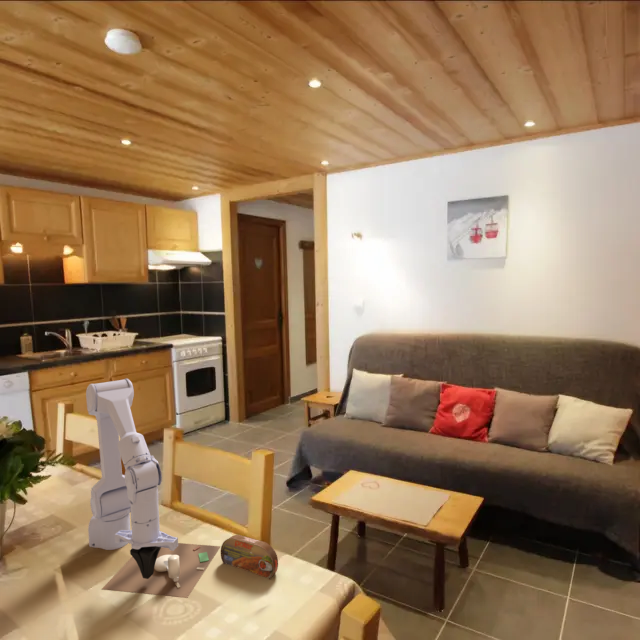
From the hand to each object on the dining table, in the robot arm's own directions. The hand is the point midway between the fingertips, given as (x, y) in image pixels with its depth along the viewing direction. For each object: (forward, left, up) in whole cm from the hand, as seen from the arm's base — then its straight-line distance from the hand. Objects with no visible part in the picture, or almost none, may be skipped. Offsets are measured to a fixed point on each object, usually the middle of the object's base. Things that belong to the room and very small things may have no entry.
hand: (148, 575), depth 101 cm
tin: (+21, +9, -4) cm, 23 cm away
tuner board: (+1, +7, -3) cm, 7 cm away
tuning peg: (+3, +5, -2) cm, 5 cm away
